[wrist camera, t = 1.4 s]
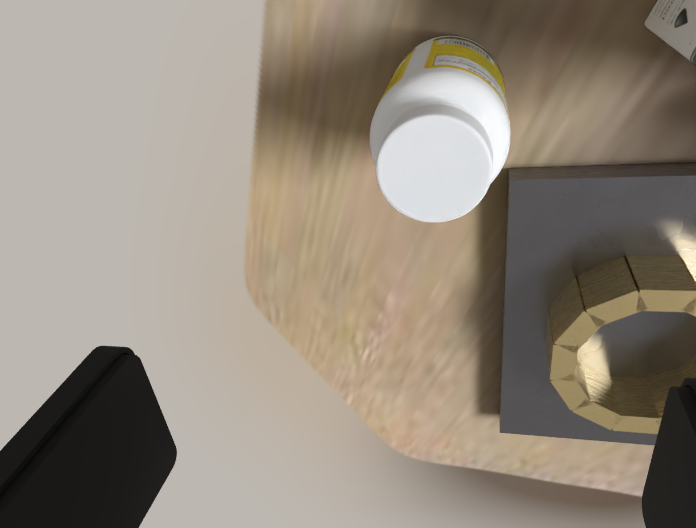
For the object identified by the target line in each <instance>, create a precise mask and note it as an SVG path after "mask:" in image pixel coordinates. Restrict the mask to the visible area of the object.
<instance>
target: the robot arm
mask: <svg viewBox="0 0 696 528" xmlns="http://www.w3.org/2000/svg"><path fill="white" fill-rule="evenodd" d="M176 456H177V450H176V446H175V444H174V441H173V438H172V436H171V434H170V431H169V429H168V426H167V424H166V421H165V419H164V416H163V414H162V411H161V409H160V406H159V404H158V401H157V399H156V396H155V394H154V391H153V389H152V386H151V384H150V381H149V379H148V376H147V374H146V371H145V369H144V367H143V364H142V362H141V360H140V358H139V357H138V356H137V355H135V354H134V352H133V351H132V350H131V349H130V348H128V347H115V346H114V347H113V346H99V347H96V348H95V349H94V350H93V351H92V352H91V353H90V354H89V355H88V356H87V357H86V358H85V359H84V360H83V362H82V363H81V364H80V365H79V366H78V367H77V368H76V369H75V370H74V371H73V372H72V374H71V375H70V376H69V377H68V378H67V379H66V380H65V381H64V382H63V383H62V384H61V386H60V387H59V388H58V389H57V390H56V391H55V392H54V393H53V394H52V395H51V396H50V397H49V399H48V400H47V401H46V402H45V403H44V404H43V405H42V406H41V407H40V408H39V410H37V412H36V413H35V414H34V415H33V416H32V417H31V418H30V419H29V420H28V421H27V422H26V424H25V425H24V426H23V427H22V428H21V429H20V430H19V431H18V432H17V434H16V435H15V436H14V437H13V438H12V439H11V440H10V441H9V442H8V443H7V444H6V445H5V446H4V447H3V449H2V450H1V451H0V528H139V526H140V524H141V522H142V521H143V518H144V517H145V515H146V513H147V512H148V510H149V508H150V507H151V505H152V503H153V501H154V500H155V498H156V496H157V494H158V493H159V491H160V489H161V487H162V485H163V484H164V482H165V480H166V479H167V477H168V475H169V473H170V472H171V470H172V468H173V466H174V464H175V461H176ZM642 510H643V518H644V522H645V525H646V528H696V378H685V379H684V380H683V382H682V385H681V387H675V386H672V387H671V388H670V389H669V391H668V395H667V399H666V403H665V407H664V411H663V415H662V419H661V423H660V427H659V431H658V435H657V439H656V443H655V447H654V451H653V455H652V459H651V463H650V467H649V471H648V475H647V479H646V483H645V487H644V491H643V496H642Z"/></svg>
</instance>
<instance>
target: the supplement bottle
mask: <svg viewBox="0 0 696 528" xmlns="http://www.w3.org/2000/svg"><path fill="white" fill-rule="evenodd" d="M509 146H510V120H509V114H508V107H507V101H506V94H505V87H504V81H503V77H502V74H501V71H500V69H499V67H498V65H497V63H496V61H495V60H494V58H493V57H492V55H491V54H490V53H489V52H488V51H487V50H486V49H485V48H484V47H482V46H481V45H479V44H478V43H476V42H474V41H472V40H470V39H467V38H463V37H458V36H441V37H436V38H432V39H430V40H427V41H425V42H423V43H421V44H419V45H418V46H416V47H415V48H414V49H413V50H411V51H410V52H409V53H408V54H407V55H406V56H405V57H404V59H403V60H402V61H401V63H400V64H399V66H398V67H397V69H396V71H395V73H394V75H393V77H392V79H391V81H390V83H389V85H388V86H387V88H386V90H385V92H384V94H383V96H382V98H381V100H380V102H379V104H378V106H377V108H376V110H375V113H374V116H373V119H372V123H371V128H370V149H371V154H372V158H373V161H374V163H375V166H376V177H377V181H378V185H379V187H380V190H381V192H382V193H383V195H384V197H385V198H386V200H387V201H388V202H389V203H390V204H391V205H392V206H393V207H394V208H395V209H396V210H398V211H399V212H400V213H402V214H403V215H406V216H408V217H410V218H412V219H415V220H418V221H423V222H445V221H450V220H453V219H456V218H458V217H461V216H463V215H465V214H466V213H468V212H469V211H471V210H472V209H473V208H474V207H475V206H476V205H478V203H479V202H480V201H481V200H482V198H483V197H484V195H485V194H486V192H487V190H488V188H489V185H490V184H491V183H492V182H493V180H494V179H495V178H496V177H497V175H498V174H499V173H500V171H501V169H502V167H503V165H504V163H505V161H506V158H507V155H508V151H509Z"/></svg>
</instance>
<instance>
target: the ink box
mask: <svg viewBox="0 0 696 528" xmlns="http://www.w3.org/2000/svg"><path fill="white" fill-rule="evenodd" d="M645 27H646V28H648V29H649V30H650V31H652V32H653V33H654V34H656V35H657V36H658V37H659V38H661V39H662V40H663V41H665V42H666V43H667V44H669V45H670V46H671V47H673V48H674V49H675V50H677V51H678V52H679V53H680V54H682V55H683V56H684V57H686V58H687V59H688V60H690V61H691V62H692V63H694V64H695V65H696V0H658V1H657V2H656V4H655V6H654V7H653V9H652V11H651V12H650V14H649V16H648V17H647V19H646V21H645Z"/></svg>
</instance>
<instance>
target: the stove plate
mask: <svg viewBox="0 0 696 528" xmlns="http://www.w3.org/2000/svg"><path fill="white" fill-rule="evenodd" d="M685 378H696V163H669V164H636V165H602V166H568V167H534V168H509V171H508V198H507V225H506V252H505V278H504V305H503V332H502V359H501V385H500V412H499V420H500V433H511V434H523V435H535V436H548V437H560V438H572V439H584V440H596V441H608V442H620V443H633V444H645V445H655V443H656V439H657V435H658V431H659V427H660V423H661V419H662V415H663V411H664V407H665V403H666V399H667V395H668V391H669V389H670V388H671V387H672V386H675V387H681V385H682V382H683V380H684V379H685Z"/></svg>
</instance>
